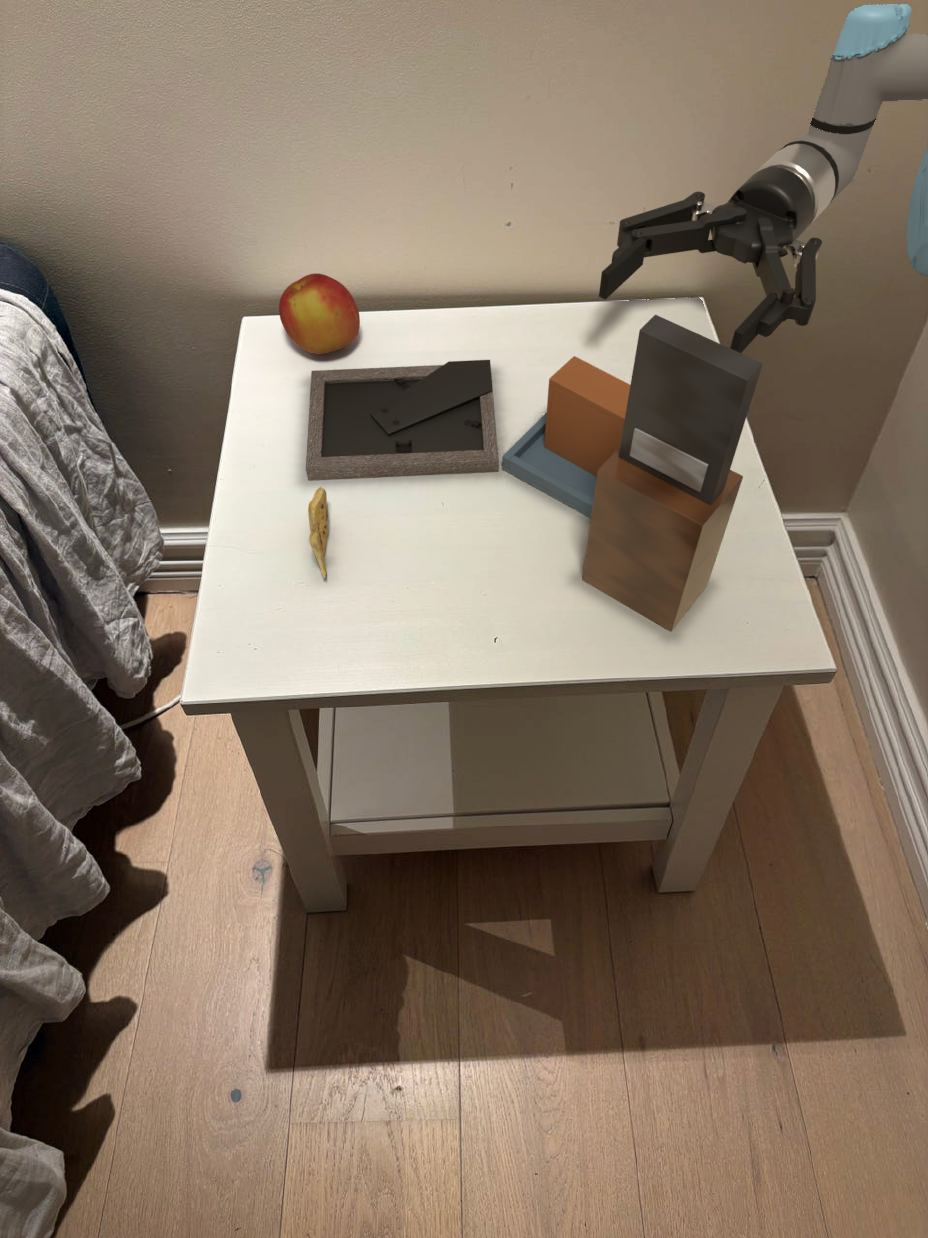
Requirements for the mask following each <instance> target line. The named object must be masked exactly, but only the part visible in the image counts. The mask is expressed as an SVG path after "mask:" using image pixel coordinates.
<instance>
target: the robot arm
mask: <svg viewBox="0 0 928 1238" xmlns="http://www.w3.org/2000/svg"><path fill="white" fill-rule="evenodd" d="M911 10H912V9H911V7H910V6H909V5H908V4H900V5H898V4H886V5H885V4H883V5H881V4H880V5H879V4H876V5H874V4H873V5H870V4H869V5H863V6H861V7H858V8H855V9H854V11H851V12H850V13H849V14H848V17H846V21H845V24H844V25H843V26H844V28H842V29H843V30H841V33H840V37H839V39H838V42H837V45H836V49H835V51H834V54H833V55H832V56H831V58H830V59H831V62H830V65H829V66H830V67H829V69H828V73H827V74H828V75H827V77H826V79H825V82H824V83H825V84H824V85H823V88H822V89H821V91H822V92H821V94H820V96H819V100H818V102H817V106H816V108H815V110H816V111H815V112H814V115H813V116H814V117H813V118H812V121H811V123H810V124H811V125H810V127H809V132H808V134H807V135H806V136H804V137H802V138H801V137H800V138H797V139H795V140H794V141H791V142H789V143H788V144H786V143H785V144H786V145H785V144H784V145H785V146H784V145H783V146H784V147H783V146H782V147H783V148H782V147H781V148H780V149H778V151H776V153H774V154H773V155H772V156H771V157H770V158H769V159H768V160H766V162H765V163H764V164H763V165H761V166H760V167H759V169H757V170H756V171H755V172H754V173H753V174H752V175H751V176H750V177H749V178H748V179H747V180H746V181H745V182H744V183H743V184H742V185H741V186H740V187H739V188H737V189H736V191H735V192H734V193H733V194H732V195H731V197H730V199H729V200H728V201H727V202H725V203H723V204H719V205H717V206H713V205H711V204H709V203H708V202H705V198H706V194H705V193H704V192H702V191H694V192H693V193H691V194H690V195H688V196H687V197H685V198H684V199H682V200H679V201H675V202H672V203H669V204H665V205H663V206H660V207H656V208H654V209H650V210H647V211H644V212H641V213H638V214H635V215H634V214H633V215H630V216H629V217H625V218H622V219H621V220H620V221H619V226H618V232H617V233H618V234H617V241H616V242H617V243H616V246H617V248H616V249H615V250H614V251H613V253H612V255H611V263H610V264H608V265H607V266H606V267H605V268H604V269H603V270H602V271H601V276H600V282H599V283H600V284H599V291H598V298H600V299H603V300H607V299H608V298H609V297H610V296H611V295H612V294H614V292H616V291H617V290H618V289H619V288H620V287H621V286H622V285H623V284H624V283H626V281H628V279H630V277H631V276H633V275H634V274H635V273H636V272H637V271H638V270H639V269H640V268H641V267H642V266H643V265H644V261H645V258H651V257H657V256H658V257H659V256H665V255H671V254H676V253H684V252H691V251H698V252H699V253H700V254H706V253H707V254H708V253H712V252H713V253H714V252H716V253H718V254H721V255H722V256H726V257H730V258H733V259H734V260H736V261H737V262H740V263H743V264H744V265H746V264H747V263H748V264H749V263H751V264H752V267H753V269H754V272H755V275H756V277H757V278H760V282H761V285H762V288H763V290H764V291H763V292H764V294H765V298H764V299H762V301H761V302H760V303H759V304H758V305H757V307H755V308H754V310H753V311H752V312H751V313H750V314H749V315H748V316H747V317H746V318H745V319H744V320H743V322H741V324H740V325H739V326H738V327H737V328H736V329H735V330H734V333H733V336H732V340H731V343H730V347H729V348H730V349H732V350H735V351H737V352H739V353H741V354H743V352H744V351H745V350H746V348H748V346H749V345H750V344H751V343H752V342H753V341H754V339H756V337H757V336H758V335H759V336H762V337H764V338H767V337H769V336H771V335H772V334H773V333H774V332H775V331H776V329H777V328H778V327H779V326H780V325H781V324H782V323H783V322H785V321H787V320H794V324H796V325H798V326H801V327H805V326H807V325H808V324H809V321H810V318H811V316H812V314H813V311H814V307H815V304H816V302H817V271H816V268H817V267H816V265H817V260H818V257H819V253H820V250H821V247H822V244H823V240H822V239H821V238H819V237H811V238H809V240H808V241H807V242H803V241H801V240H798V238H799V237H800V236H802V234H803V233H805V231H806V230H807V228H808V227H810V225H811V224H813V222H814V221H815V220H817V218H818V217H819V216H820V215H821V214H822V213H823V212H824V210H825V209H826V208H828V207H829V205H830V204H831V203H832V202H833V200H835V198H836V197H837V196H839V194H840V193H842V191H843V190H845V188H846V187H847V186H848V185H849V184H851V183H852V182H853V181H852V179H853V177H854V176H855V173H856V171H857V169H858V165H859V163H860V160H861V157H862V155H863V152H864V149H865V147H866V143H867V141H868V138H869V135H870V133H871V130H872V127H873V125H874V122H875V120H877V119H876V117H877V114H878V111H879V109H880V106H881V104H882V102H883V101H885V102H899V101H898V100H916V101H923V100H922V99H928V36H927V35H926V34H922V35H921V34H916V33H915V34H912V35H911V34H910V33H909V34H907V33H906V32H907V28H908V27H909V26H910V24H909V19H910V16H911V12H912V11H911ZM883 103H884V102H883ZM882 105H883V104H882ZM881 107H882V106H881ZM880 110H881V109H880ZM879 112H880V111H879ZM878 115H879V114H878ZM877 118H878V117H877ZM817 128H818V129H817ZM819 129H820V130H819ZM822 130H823V131H822ZM830 132H831V133H830ZM837 133H838V134H837ZM851 181H852V182H851ZM850 182H851V183H850ZM710 235H711V239H710ZM905 235H906V237H905V238H906V249H907V256H908V261H909V263H910V265H911V266H912V268H913V269H914V270H915V272H916V273H918V274H919V275H920V276H921V277H922V276H923V277H928V145H927V146H926V148H925V151H924V153H923V156H922V159H921V161H920V164H919V168H918V171H917V174H916V176H915V180H914V184H913V187H912V191H911V196H910V201H909V206H908V213H907V219H906V234H905ZM788 255H791V257H792V258H791V260H792V262H793V268H795V269H796V271H795V277H794V288H793V287H792V285H791V284H790V280H789V278H788V275H787V273H786V270H785V267H784V264H783V262H782V258H784V257H786V256H788Z"/></svg>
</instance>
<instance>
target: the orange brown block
mask: <svg viewBox="0 0 928 1238" xmlns="http://www.w3.org/2000/svg"><path fill="white" fill-rule="evenodd" d="M630 385H631V383H628V382H626V381H624V380H622V379H620V378H618V377H616V376H614V375H612V374H610V373H609V372H606V371H604V370H603V369H601V368H599V367H597V366H595V365H593V364H591V363H589V362H587V361H585V360H583V359H581V358H580V357H577V356H575V355H574V356H572V357H571V358H570V359H569V360H568V361H566V363H565V364H564V365H562V366H561V367H560V368H559V369H558V370H556V371H555V373H553V375H551V376H550V377H549V378H548V389H547V402H546V413H547V415H546V428H545V441H544V447H545V448H547V449H548V450H550V451H552V452H554V453H555V454H557V455H559V456H561V457H562V458H564V459H566V460H568V461H569V462H571V463H573V464H575V465H576V466H578V467H580V468H582V469H584V470H585V471H587V472H589V473H591V474H592V475H594V476H596V477H597V474H598V470H599V468H600V467H601V466H602V465H603V464H604V463H605V462H606V461H607V460H608V459H609V458H610V457H611V456H612V454H613V453H614V452H615V451H616V450H617V449H618V448H619V447H620V444H621V438H622V433H623V427H624V421H625V415H626V409H627V403H628V397H629V391H630Z"/></svg>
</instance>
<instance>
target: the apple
mask: <svg viewBox="0 0 928 1238" xmlns="http://www.w3.org/2000/svg"><path fill="white" fill-rule="evenodd" d="M278 315H279V319H280V322H281V325H282V326H283V328H284V330H285V332H286V334H287V335H288V337H289V338H290V339H291V340H292V341H293V342H294V344H296V346H297V347H299V348H301V349H302V350H303V351H306V352H308V353H311V354H317V355H325V354H329V353H332V352H334V351H338V350H341V349H344V348H345V347H347V346H349V345H350V344H351V343H353V341H354V340H355V339H356V338H357V336H358V334H359V331H360V326H361V325H360V324H361V319H360V311H359V308H358V305H357V302H356V300H355V299H354V297H353V295H352V294H351V292H350V291H349V290H348V288H347V287H346V286H345V285H344V284H343V283H342V282H340V281H339V280H337V279H335V278H333V277H331V276H329V275H326V274H323V273H310V274H306V275H305V276H303V277H301V278H299V279H297V280H296V281H293V282H292V283H290V284H289V285H288V286H287V287H286V289H284V290H283V292H282V293H281V295H280V299H279V303H278Z"/></svg>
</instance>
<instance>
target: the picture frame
mask: <svg viewBox="0 0 928 1238" xmlns="http://www.w3.org/2000/svg"><path fill="white" fill-rule="evenodd" d="M491 366H492V365H491V359H478V360H477V359H471V360H449V361H447V362H445V363H444V364H433V365H432V364H431V365H415V366H414V365H412V366H389V367H365V368H343V369H342V368H341V369H320V370H318V369H317V370H311V373H310V389H309V407H308V421H307V422H308V423H307V439H306V457H305V472H306V476H307V480H308V481H321V480H324V481H325V480H343V479H344V480H346V479H365V478H366V479H368V478H387V477H389V478H390V477H412V476H431V475H452V474H453V475H455V474H457V475H458V474H475V473H477V474H478V473H494V472H495V473H497V472H500V467H499V466H500V458H499V446H498V436H497V435H498V434H497V425H496V413H495V403H494V392H493V391H494V389H493V376H492V367H491Z"/></svg>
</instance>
